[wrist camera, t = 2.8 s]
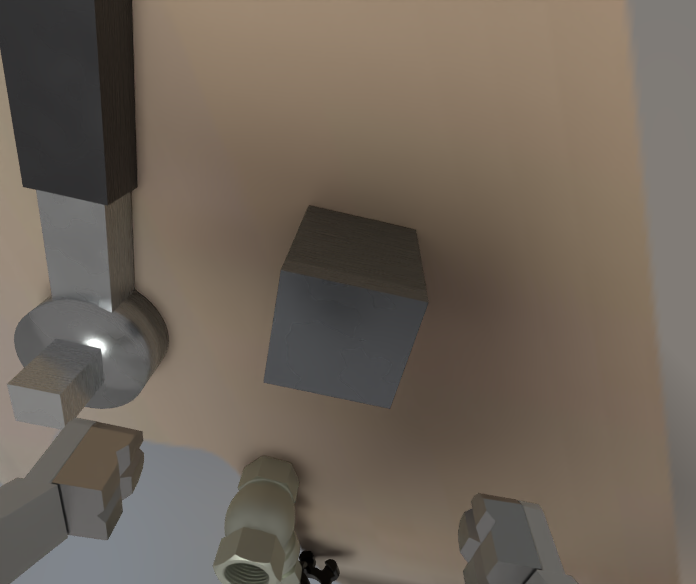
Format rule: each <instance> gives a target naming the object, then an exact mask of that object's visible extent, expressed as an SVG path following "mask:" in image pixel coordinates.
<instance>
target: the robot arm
mask: <svg viewBox="0 0 696 584" xmlns="http://www.w3.org/2000/svg"><path fill="white" fill-rule="evenodd" d="M142 442H143V432H142V431H139V430H134V429H130V428H125V427H120V426H115V425H111V424H106V423H101V422H97V421H91V420H86V419H81V418H76V417H75V418H74V419H72V420H71V421H70V422H68V423H67V424H66V426H65V427H64V428H63V430H62V431H61V432H60V433H59V435H58V436H57V437H56V438H55V440H54V441H53V442H52V444H51V445H50V446H49V447H48V449H47V450H46V451H45V453H44V454H43V455H42V456H41V458H40V459H39V460H38V462H37V463H36V464H35V465H34V467H33V468H32V469H31V470H30V472H29V473H28V474H27V476H26V477H25V478H15V479H14V480H12V481H10V482H8V483H6V484H5V485H3V486H1V487H0V584H10V583H11V582H12V581H14V580H15V579H16V578H18V577H19V576H20V575H21V574H23V573H24V572H25V571H26V570H28V569H29V568H30V567H31V566H32V565H34V564H35V563H36V562H37V561H39V560H40V559H41V558H43V557H44V556H45V555H46V554H48V553H49V552H50V551H51V550H53V549H54V548H55V547H56V546H58V545H59V544H60V543H62V542H63V541H64V540H65V539H67V537H68V535H73V536H80V537H87V538H94V539H101V540H108V539H109V537H110V535H111V533H112V531H113V529H114V527H115V526H116V524H117V522H118V520H119V518H120V516H121V514H122V512H123V509H122V500H124V499H125V498H127V497H128V496H130V495H131V494H132V493H133V491H134V489H135V487H136V485H137V483H138V481H139V478H140V475H141V472H142V469H143V463H144V453H143V452H142V450H140V446H141V444H142ZM471 504H472V509H470V510H468V511H466V512H464V514H463V516H462V518H461V520H460V525H459V530H458V541H459V548H460V553H461V554H462V555H463V557H464V558H465V560H466V561H467V562H468V563H467V565H466V567H465V569H464V571H463V574H464V580H465V584H578V583H577V582H576V581H575V579H574V578H573V577H572V576H570V575H566V574H565V572H564V569H563V566H562V564H561V561H560V558H559V555H558V552H557V549H556V547H555V544H554V541H553V538H552V535H551V532H550V530H549V527H548V524H547V521H546V518H545V515H544V513H543V510H542V508H541V507H540V506H539V504H535V503H530V502H524V501H518V500H516V499H511V498H505V497H499V496H493V495H487V494H481V493H478V494H476V495H475V496H474V497H473V499H472V500H471Z"/></svg>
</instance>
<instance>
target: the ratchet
mask: <svg viewBox="0 0 696 584" xmlns="http://www.w3.org/2000/svg"><path fill="white" fill-rule="evenodd" d="M0 50H1V56H2V62H3V68H4V74H5V80H6V86H7V92H8V98H9V104H10V110H11V117H12V123H13V129H14V135H15V141H16V147H17V153H18V159H19V165H20V171H21V177H22V184H23V187H26V188H31V189H35V190H36V192H37V199H38V206H39V213H40V219H41V226H42V233H43V239H44V246H45V253H46V259H47V266H48V273H49V280H50V286H51V293H52V295H51V296H50V297H48V298H47V299H46V300H45V301H43V302H42V303H41V304H39V305H38V306H37V307H36V308H34V309H33V310H32V311H31V312H29V313H28V314H27V315H26V316H24V317H23V318H22V319H21V321H20V322H19V323H18V325H17V328H16V331H15V335H14V343H15V349H16V352H17V355H18V357H19V360H20V362H21V363H22V365H23V367H24V369H23V370H21V371H20V372H19V373H18V374H17V375H16V376H15V377H14V378H13V379H12V380H11V381H10V382H9V383H8V384H7V387H8V391H9V395H10V399H11V403H12V408H13V412H14V416H15V420H16V421H20V422H25V423H31V424H36V425H41V426H46V427H51V428H56V429H61V430H63V428H64V427H65V426H66V424H67V423H68V422H70V421H71V420H72V419H74V418H75V417H77V416H78V414H79V413H80V412H81V411H82V409H83V408H84V407H90V408H100V409H105V408H115V407H119V406H122V405H125V404H127V403H129V402H130V401H132V400H133V399H135V398H136V397H137V396H138V394H139V393H140V392H141V390H142V389H143V387H144V386H145V384H146V383H147V381H148V380H149V379H150V377H151V376H152V374H153V373H154V371H155V370H156V368H157V367H158V365H159V364H160V362H161V361H162V359H163V358H164V356H165V354H166V352H167V348H168V341H169V340H168V332H167V328H166V325H165V323H164V321H163V319H162V317H161V315H160V314H159V312H158V311H157V310H156V308H155V307H154V306H153V305H152V304H151V303H150V302H149V301H148V300H147V299H146V298H145V297H143V296H142V295H141V294H139V293H138V292H137V291H135V290H134V267H133V240H132V213H131V191H132V190H134V189H135V188H137V168H136V134H135V100H134V66H133V32H132V0H0Z"/></svg>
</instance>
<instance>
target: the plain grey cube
mask: <svg viewBox="0 0 696 584" xmlns="http://www.w3.org/2000/svg"><path fill="white" fill-rule="evenodd" d="M427 305H428V297H427V291H426V285H425V279H424V274H423V268H422V262H421V256H420V251H419V245H418V239H417V233H416V230H414V229H410V228H406V227H401V226H397V225H393V224H388V223H384V222H380V221H375V220H371V219H366V218H362V217H358V216H353V215H349V214H345V213H340V212H336V211H332V210H327V209H323V208H318V207H314V206H310V205H309V206H308V208H307V211H306V213H305V215H304V218H303V220H302V222H301V225H300V227H299V229H298V232H297V234H296V236H295V239H294V241H293V243H292V246H291V248H290V250H289V253H288V255H287V257H286V260H285V262H284V264H283V267H282V269H281V273H280V280H279V286H278V293H277V299H276V305H275V312H274V318H273V325H272V331H271V338H270V344H269V350H268V357H267V363H266V370H265V376H264V383H269V384H273V385H278V386H283V387H288V388H293V389H297V390H302V391H307V392H312V393H317V394H321V395H326V396H331V397H336V398H341V399H346V400H350V401H355V402H360V403H365V404H370V405H374V406H379V407H384V408H389V409H390V407H391V404H392V401H393V399H394V396H395V393H396V391H397V388H398V385H399V382H400V380H401V377H402V374H403V371H404V369H405V366H406V363H407V360H408V358H409V355H410V352H411V349H412V347H413V344H414V341H415V338H416V336H417V333H418V330H419V327H420V325H421V322H422V319H423V316H424V314H425V311H426V308H427Z"/></svg>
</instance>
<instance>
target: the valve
mask: <svg viewBox="0 0 696 584" xmlns="http://www.w3.org/2000/svg"><path fill="white" fill-rule="evenodd" d="M298 486H299V480H298V478H297V475H296V473H295V470H294V468H293V465H292V464H291V463H289V462H286V461H282V460H278V459H275V458H271V457H267V456H262V457H260V458H258V459H257V460H255V461H254V462H252V463H251V464H249V465H247V466H246V467H245V468H244V470H243V473H242V476H241V479H240V482H239V485H238V490H239V492H238V493H237V494H236V495H235V497H234V498H233V499H232V501H231V503H230V505H229V507H228V510H227V513H226V517H225V536H226V537H224V538H222V539H221V542H220V545H219V548H218V551H217V554H216V557H215V561H214V564H213V568H214V571H215V574H216V576H217V577H218V579H219V580H220V581H221V583H223V584H310V582H309V580H308V578H313V579H315V580H317V581H319V582H320V583H321V584H331V583H332V581H335V580H336V579H337V578H338V577H339V574H340V571H339V568H338V566H337V563H336V562H335V561H334V560H333V559H329V560H327V561H325V564H326V566H325V568H324V569H323V570H319V569H318V568H315V565H316V560H315V558H314V555H313V553H312V552H311V551H303V552H302V553H301V554H300V556H299V553H300V543H299V540H298V538H297V536H296V534H295V532H294V526H295V507H294V503H295V502H296V497H297V492H298ZM298 557H299V560H300V561H298Z"/></svg>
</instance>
